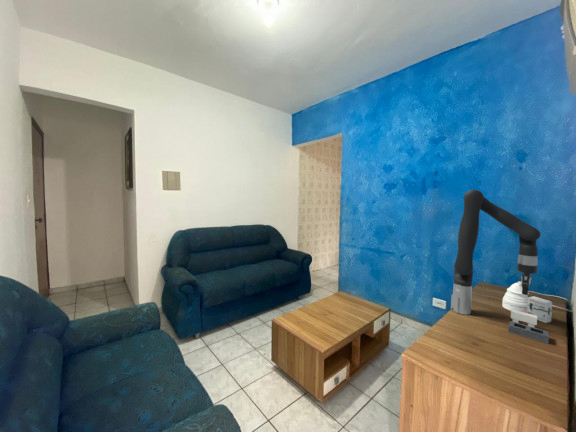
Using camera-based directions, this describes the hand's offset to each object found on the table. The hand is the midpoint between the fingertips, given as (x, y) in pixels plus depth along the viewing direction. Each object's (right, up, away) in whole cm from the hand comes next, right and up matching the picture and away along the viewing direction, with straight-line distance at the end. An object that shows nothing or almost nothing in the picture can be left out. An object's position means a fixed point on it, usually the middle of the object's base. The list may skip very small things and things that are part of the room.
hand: (525, 292), depth 127 cm
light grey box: (-1, -18, 0) cm, 18 cm away
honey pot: (+15, -17, +20) cm, 31 cm away
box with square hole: (-7, -19, -9) cm, 22 cm away
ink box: (+15, -18, +7) cm, 25 cm away
